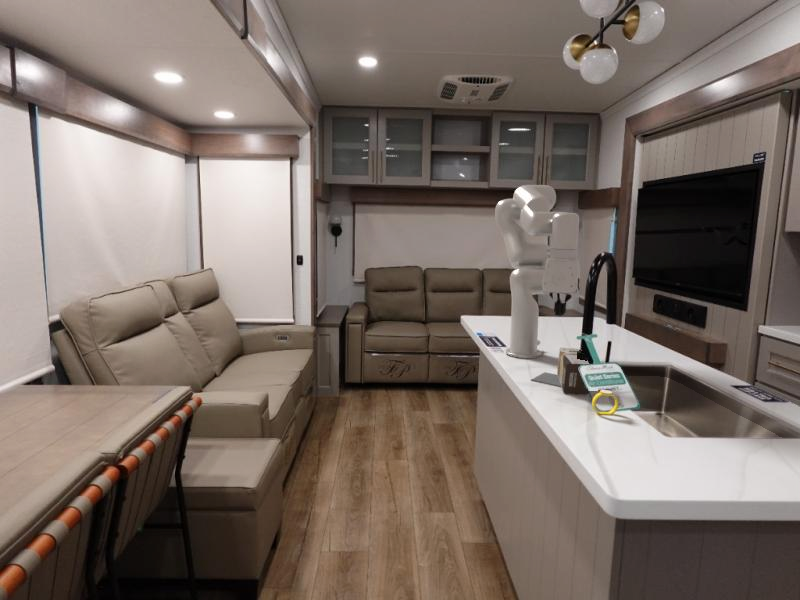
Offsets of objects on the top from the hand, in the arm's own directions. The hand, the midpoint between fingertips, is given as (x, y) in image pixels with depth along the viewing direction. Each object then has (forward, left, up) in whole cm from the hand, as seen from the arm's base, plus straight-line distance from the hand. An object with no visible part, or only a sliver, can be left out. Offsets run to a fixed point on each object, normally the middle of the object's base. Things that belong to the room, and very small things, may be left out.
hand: (559, 314), depth 151 cm
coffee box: (-2, +3, -15) cm, 15 cm away
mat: (+3, +1, -20) cm, 20 cm away
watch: (+21, +22, -20) cm, 36 cm away
